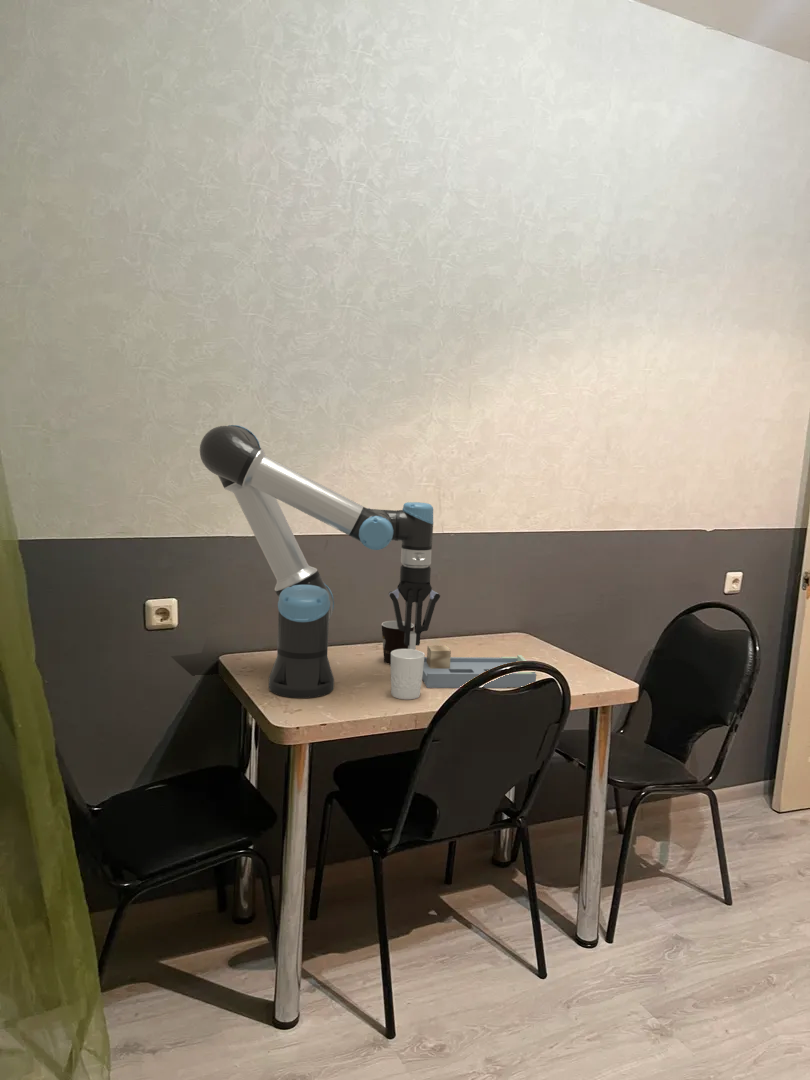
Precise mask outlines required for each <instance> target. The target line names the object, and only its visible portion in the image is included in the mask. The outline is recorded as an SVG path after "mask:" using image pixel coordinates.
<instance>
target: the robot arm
mask: <svg viewBox="0 0 810 1080" xmlns="http://www.w3.org/2000/svg"><path fill="white" fill-rule="evenodd" d="M265 453H266V452H265V450H264V449H263V448H262V447H261V445H260V441H259V439H258V438H257V436H256V435H255V434H254V433H253V432H252V431H250V430H249V429H248V428H246V427H244V426H242V425H236V424H235V425H233V424H231V425H230V424H229V425H220V426H216V427H214V428H212V429H210V430H209V431H207V432H206V433H205V434H204V435H203V437H202V440H201V442H200V443H199V456H200V460H201V462H202V464H203V465H204V467H205V468H206V469H207V470H208V471H209V472H210V473H213V474H214V475H217V476H218V479H219V481H220V483H221V484H222V487H223V488H224V490H226V491H228V492H231V493H232V494H234V496H235V498H236V500H237V503H238V504H239V506H240V508H241V510H242V512H243V516H245V518H246V521H247V522H248V525H249V527H250V529H251V531H252V533H253V535H254V537H255V540H256V541H257V543H258V545H259V547H260V549H261V551H262V553H263V555H264V557H265V559H266V561H267V563H268V565H269V568H270V569H271V571H272V573H273V575H274V578H275V579H276V584H275V585H274V592H275V593H276V595H277V598H278V601H277V608H278V617H277V619H278V621H277V622H278V623H277V648H276V649H277V650H276V652H277V654H276V658H275V660H274V663H273V666H272V668H271V671H270V674H269V676H268V677H269V678H268V690H269V691H270V692H272V693H273V694H275V695H279V696H281V697H287V698H294V699H308V698H309V699H310V698H317V697H322V696H327V695H329V694H330V693H331V692H333V690H334V687H335V686H334V684H335V679H334V675H333V671H332V668H331V664H330V662H329V661H330V660H329V657H328V647H329V645H328V644H329V623H330V620H331V618H332V615H333V612H334V608H335V601H334V595H333V593H332V590H331V588H329V586H328V585H327V584H326V583H325V582H324V581H323V578H322V576H321V574H320V572H319V570H318V568H317V567H313V566H310V565H309V564H308V561H307V559H306V557H305V556H304V553H303V551H302V549H301V548H300V545H299V543H298V541H297V539H296V537H295V535H294V532H293V531H292V529H291V527H290V524H289V522H288V521H287V519H286V516H285V514H284V512H283V510H282V508H281V505H280V504H279V501H280V502H282V503H285V504H286V505H289V506H290V507H292V508H294V509H296V510H298V511H300V512H302V513H304V514H305V515H309V516H310V517H312V518H313V519H315V520H318V521H320V522H321V523H323V524H326V525H328V526H330V527H332V528H334V529H336V530H338V531H340V532H342V533H344V534H345V535H347V536H349V537H351V538H353V539H355V540H357V541H359V543H361V544H362V545H363V546H364V547H365V548H367V549H368V550H371V551H380V550H383V549H384V548H386V547H387V546H389V544H390V543H391V541H397V542H398V541H400V542H401V552H400V553H401V554H400V563H401V564H402V565H400V572H399V583H398V585H397V588H396V589H394V590H393V591H389V592H388V596H389V597H390V599H391V601H392V605H393V610H394V615H395V621H397V627H398V629H399V630H400V631H403V632H405V634H404V643H405V645H406V646H408V649H413V650H417V648H416V647H417V646H420V645H421V634H422V633H423V632H427V631H428V630H429V627H430V624H431V620H432V617H433V613H434V611H435V607H436V604H437V602H438V601H439V599H440V598H441V595H440V593H438V592H437V591H435V590H433V587H432V585H431V572H432V569H431V567H430V565H432V549H433V536H434V535H433V534H434V507H433V506H432V504H430V503H427V502H417V501H413V502H411V501H410V502H409V501H408V502H407V501H406V502H405V503H403V506H402V509H400V510H399V509H398V510H396V509H395V510H393V509H378V508H377V509H376V508H375V509H374V508H370V507H369V508H367V507H365V506H363V505H362V504H360V503H357V501H354V500H351V499H350V498H348V497H346V496H345V495H342V494H340V493H338V492H336V491H334V490H332V489H331V488H329V487H327V486H325V485H323V484H321V483H319V482H317V481H315V480H313V479H311V478H310V477H308V476H306V475H303V474H302V473H301V472H300V473H299V472H298V471H296V470H294V469H292V468H290V467H288V466H286V465H284V464H283V463H280V462H278V461H276V460H274V459H272V458H271V457H269V456H267V455H266V454H265ZM278 500H279V501H278ZM399 594H400V595H401V596H402V599H404V601H405V603H404V604H405V611H404V622H405V626H404V625H403V622H402V621H403V619H402V617H403V616H402V613H401V607H400V603H399V599H400V595H399ZM428 596H429V597H428ZM427 597H428V598H429V600H428V603H427V606H426V611H425V613H424V618H423V619H422V614H423V613H422V612H423V611H422V610H423V602H424V601H425V600H426V598H427ZM413 603H415V612H414V613H415V616H414V630H413V631H411V623H412V611H413ZM422 620H423V621H422Z"/></svg>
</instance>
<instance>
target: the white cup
mask: <svg viewBox="0 0 810 1080" xmlns="http://www.w3.org/2000/svg"><path fill="white" fill-rule="evenodd" d="M424 657H426V656H425V652H424V651H420V650H418V649H416V650H413V649H397V650H393V651H392V652H391V664H390V685H391V687H390V695H391V696H392V697H394V698H395V699H400V700H416V699H418V698H419V697H420V696H421V689H422V688H421V687H422V684H423V683H422V682H423V679H422V677H423V667H424Z"/></svg>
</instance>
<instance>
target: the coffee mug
mask: <svg viewBox="0 0 810 1080" xmlns="http://www.w3.org/2000/svg"><path fill="white" fill-rule="evenodd" d="M402 622H403V625H404V626H405V620H402ZM411 631H415V623H412V622H411ZM404 634H405V632H403V631H400V630H399V629H398V627H397V621H396V620H386V621H383V622H382V623H381V635H382V637H381V638H382V650H383V651H382V653H383V662H384V663H386V664H387V665H391V652H392V651H393V650H397V649H408V646H406V645H405V643H404Z"/></svg>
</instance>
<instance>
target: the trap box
mask: <svg viewBox="0 0 810 1080" xmlns="http://www.w3.org/2000/svg"><path fill="white" fill-rule="evenodd" d="M516 661H528V660H527V659H526V658H525V657H524V656H523V655H522V654H517V655H516V656H501V657H499V656H498V657H491V656H490V657H489V656H487V657H482V656H481V657H478V656H473V657H472V656H471V657H469V656H468V657H465V656H461V657H459V656H457V657H456V656H452V657H451V658H450V669H443V668H430V667H429V666H428V664H427V656H425V657H424V667H423V677H422V682H423V683H424V685H425V686H426V688H427V689H460V688H459V687H460V686H462V685H463V684H465V683H466V682H468V681H469V680H471V679H473V678H474V677H476V676H478V675H479V674H481V673H483V672H485V671H487V670H489V669H492V668H494V667H497V666H500V665H503V664H507V663H511V662H516ZM532 682H537V673H536V671H535V672H518V673H512V674H509V675H505V676H503V677H500V678H498V679H496V680H494V681H491V682H489V683H487V684H485V685H484V686H483V687H485V688H484V689H508V688H507V687H521V686H525V685H527V684H529V683H532Z"/></svg>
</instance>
